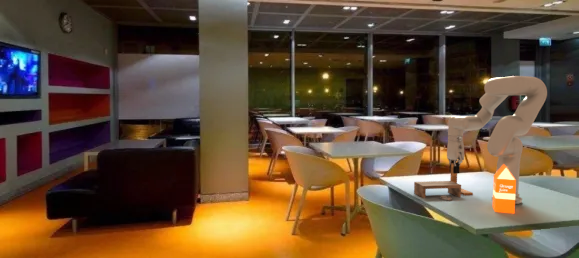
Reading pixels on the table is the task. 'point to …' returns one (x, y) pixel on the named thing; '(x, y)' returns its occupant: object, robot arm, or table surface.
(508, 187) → the orange juice
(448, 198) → the token
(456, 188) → the wooden shelf stand
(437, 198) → the table surface
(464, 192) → the brown l-shaped piece
